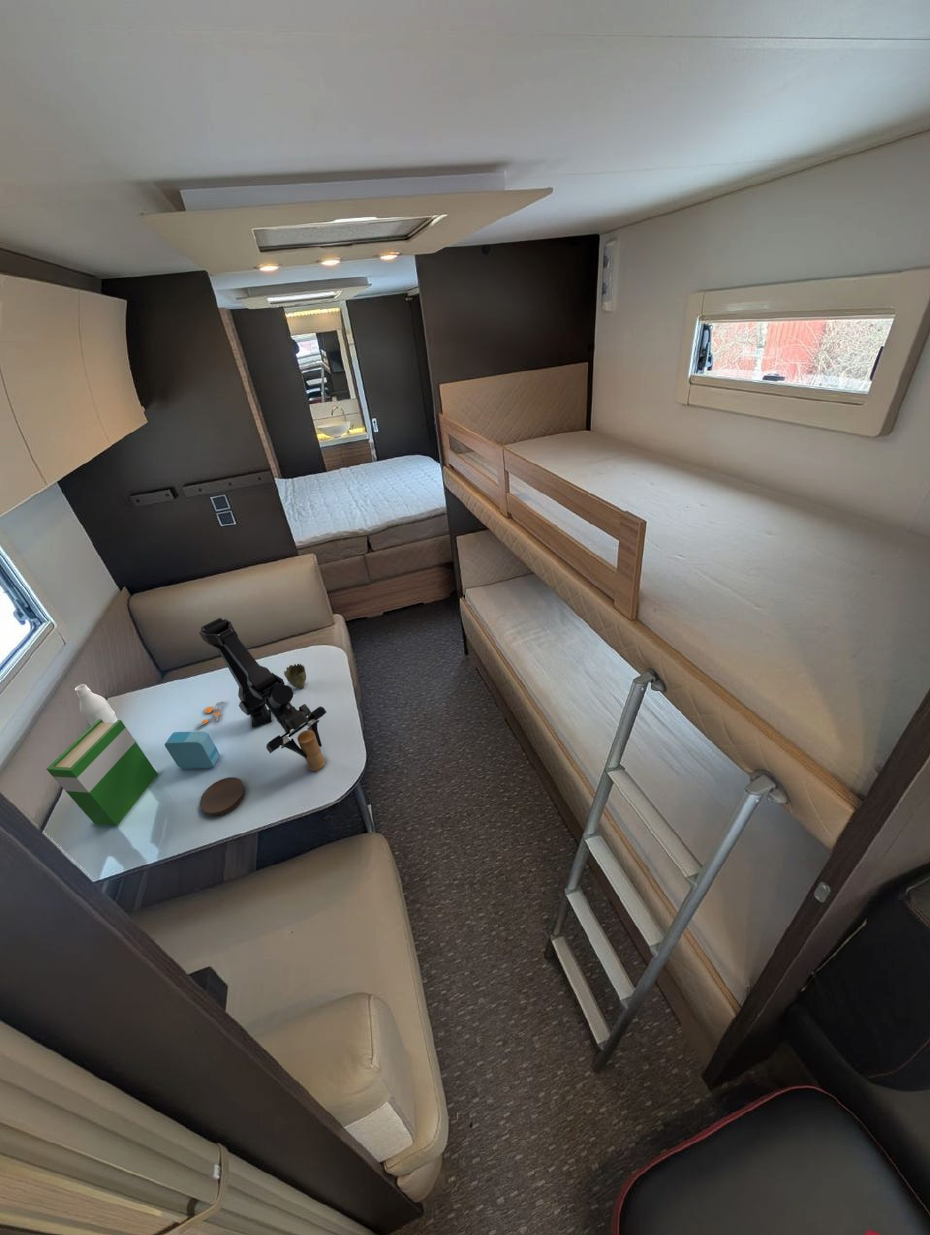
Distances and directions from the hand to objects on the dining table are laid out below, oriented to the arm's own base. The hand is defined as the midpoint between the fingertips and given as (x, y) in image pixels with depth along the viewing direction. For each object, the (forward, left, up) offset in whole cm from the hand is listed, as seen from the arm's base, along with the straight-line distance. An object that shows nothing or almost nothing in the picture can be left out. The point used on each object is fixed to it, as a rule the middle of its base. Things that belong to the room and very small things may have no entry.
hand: (313, 752), depth 142 cm
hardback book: (-13, -56, -7) cm, 58 cm away
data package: (-18, -36, -7) cm, 41 cm away
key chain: (-40, -34, -7) cm, 53 cm away
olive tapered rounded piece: (-42, -3, -7) cm, 43 cm away
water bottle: (-41, -64, -7) cm, 76 cm away
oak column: (-1, -1, -7) cm, 7 cm away
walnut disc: (0, -28, -7) cm, 28 cm away
